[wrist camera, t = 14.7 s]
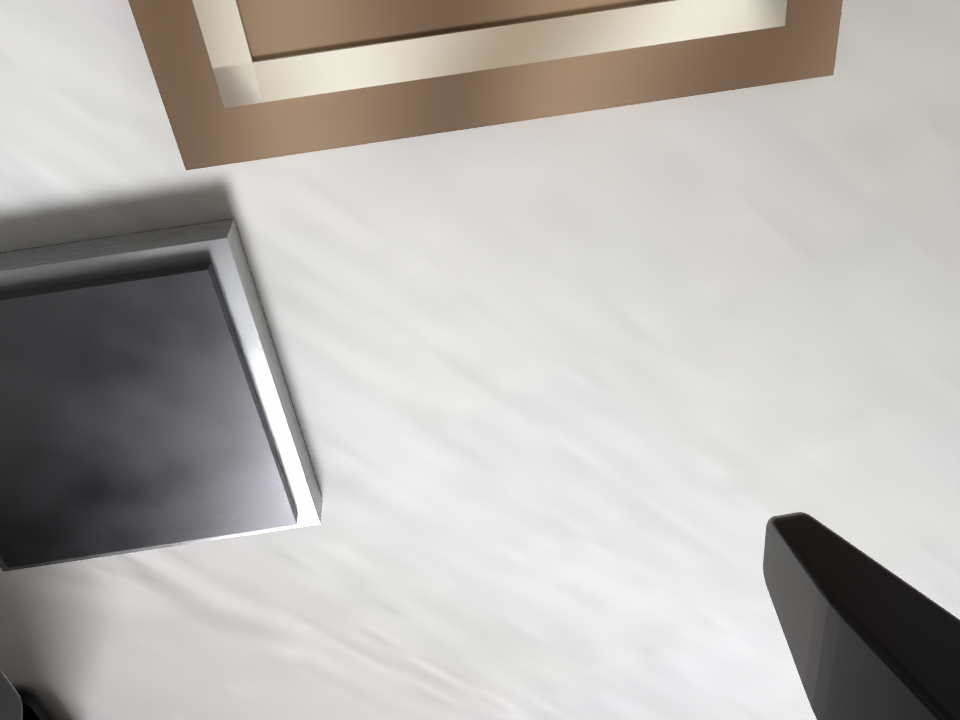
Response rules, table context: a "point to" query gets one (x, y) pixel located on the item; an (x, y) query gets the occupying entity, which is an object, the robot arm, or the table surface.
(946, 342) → the table surface
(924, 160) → the table surface
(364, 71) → the marked board
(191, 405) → the ink pad
